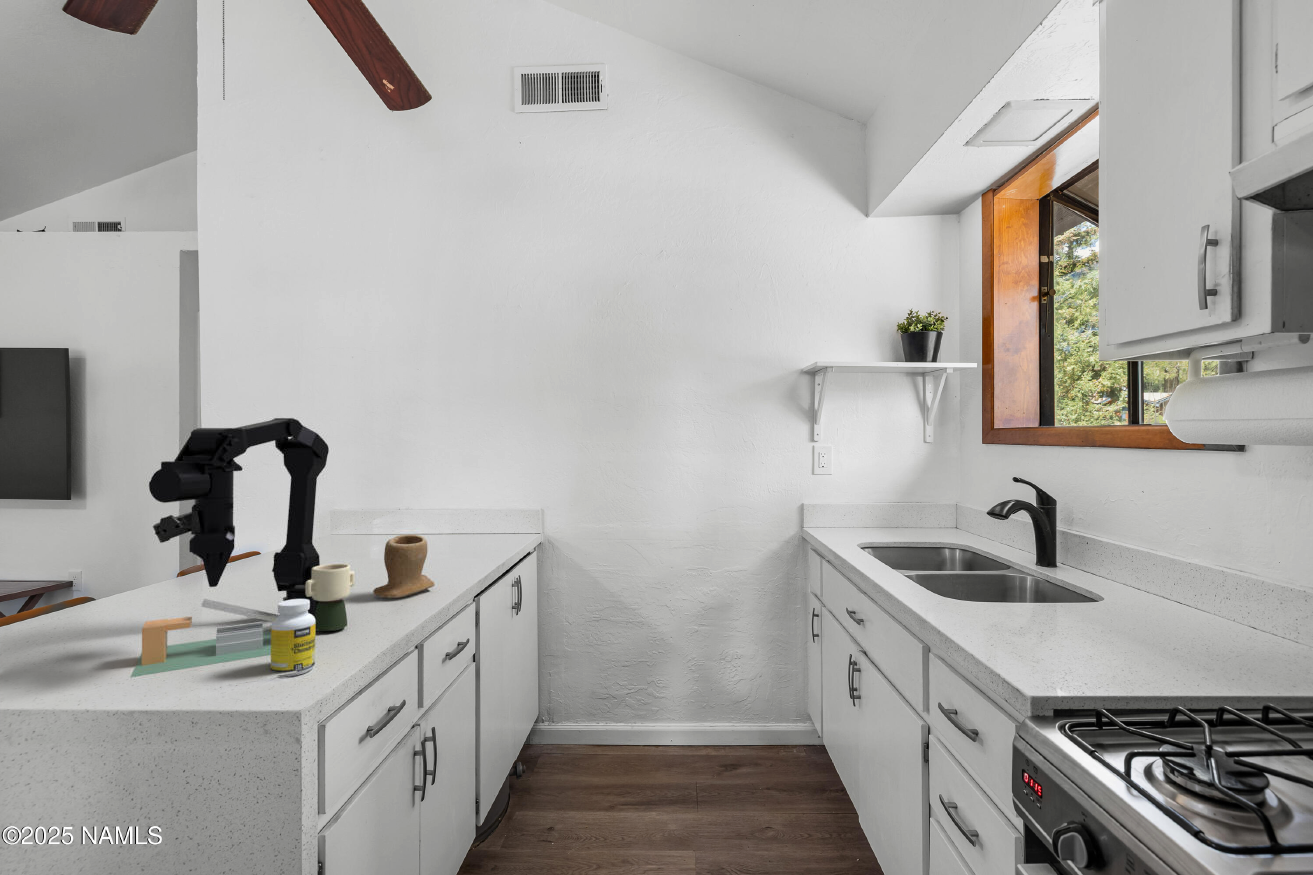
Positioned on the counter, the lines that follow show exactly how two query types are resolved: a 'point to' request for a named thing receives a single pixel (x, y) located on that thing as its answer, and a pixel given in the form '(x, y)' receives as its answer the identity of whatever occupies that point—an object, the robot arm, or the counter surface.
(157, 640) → the orange stepped block
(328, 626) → the character mug
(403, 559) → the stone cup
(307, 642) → the pill bottle
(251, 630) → the heatsink board
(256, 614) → the flat grey bar
